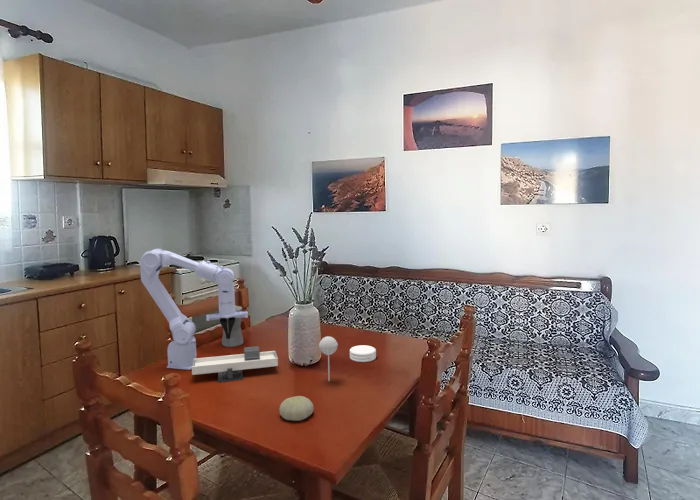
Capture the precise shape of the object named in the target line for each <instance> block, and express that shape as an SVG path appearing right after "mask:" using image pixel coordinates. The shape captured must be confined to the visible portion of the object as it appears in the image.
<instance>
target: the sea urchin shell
mask: <svg viewBox="0 0 700 500" xmlns="http://www.w3.org/2000/svg"><path fill="white" fill-rule="evenodd" d="M313 412H314V404H313V402H312V401H311V400H310V399H309V398H307V397H306V396H302V395H296V396H295V395H294V396H291V397H287V398H285V399H284V400H283V401H282V402H281V403H280V405H279V414H280V416H281V418H282V419H284V420H287V421H293V422H298V421H303V420H306V419H307V418H308V417H310V416H311V415H312V414H313Z"/></svg>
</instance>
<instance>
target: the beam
mask: <svg viewBox="0 0 700 500" xmlns="http://www.w3.org/2000/svg"><path fill="white" fill-rule="evenodd" d="M278 366H279V358H278V355H277V351H276V350H270V351H260V360H250V361H245V359H244V353H240V354H237V353H236V354H230V355H219V356H209V357H208V356H206V357H197V358H196V359H193V363H192V369H191V375H192V376H193V375H194V376H195V375H204V374H205V375H206V374H212V373H213V374H216V373H218V372H225V371H227V369H229V368H232V371H234V370H242V371H243V370H244V371H245V370H252V369H262V368H270V367H278Z"/></svg>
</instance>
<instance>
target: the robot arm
mask: <svg viewBox="0 0 700 500" xmlns="http://www.w3.org/2000/svg"><path fill="white" fill-rule="evenodd" d="M138 264H139V266H140V269H139V270H140V281H141V283H142V284H143V286H144V287H145V289H146V290H147V292H148V293H149V295H150V296H151V297H152V299H153V300H154V301H153V302H155V304H156V305H157V306H158V308H159V310H160V311H161V312H162V314H163V316H164V317H165V319H166V320H167V323H168V324H169V325H168V326H169V330H170V332H171V334H172V339H173V340H172V341H171V342H170V343H168V346H167V348H166V349H167V366H166V368H167V369H175V370H185V371H190V370H192V363H193V359H196V358H198V357H197V342H196V341H197V340H196V337H195V336H194V335H195V334H196V331H197V326H196V324H195V323H194V322H193V321H191V320H189V318H188V317H187V315H185V314H183V313H182V312H181V310H180V308H179V307H178V306H177V304H176V302H175V301H174V300H173V298H172V296H171V295H170V294H169V291H168V290H167V289H166V287H165V286H164V284H163V283H162V282H161V280H160V278H159V275H160V272H161V269H162V268H163V267H165V266H170V265H173V266H176V267H179V268H183V269H187V270H190V271H194V272H195V274H196V276H197V277H200V278H203V279H206V280H207V281H211V282H216V283H217V286H218V287H217V288H218V289H217V294H218V312H217V313H216V312H215V313H210V314H206V322H210V321H215V320H217V321H218V320H219V324H220V326H221V327H222V330H223V329H224V331H225V334H226V339H230V336H231V331H232V328H233V325H234V323H235V318H243V319H246V318H247V319H248V318H249V313H248V311H247V310H246V311H242V312H235V306H236V298H235V297H236V296H235V284H234V280H235V272H234V271H233V270H232V269H231V268H230V267H224V266H223V265H220V266H219V265H216V264H214V263H211V261H210V260H206V261H205V260H202V261H200V262H197V261H195V260H192V259H190V258H187V257H185V256H182V255H179V254H178V253H175V252H172V251H169V250H165V249H164V250H163V249H162V248H159V247H158V248H154V249H152V250H148V251H146V252H144V253H143V254H142V256H141V258H140V260H139V263H138ZM227 319H228V329H227Z"/></svg>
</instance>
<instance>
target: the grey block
mask: <svg viewBox="0 0 700 500" xmlns="http://www.w3.org/2000/svg"><path fill="white" fill-rule="evenodd" d="M243 352H244V353H243V354H244V359H245V361H250V360H260V352H261V351H260V347H259V345H258V346H257V345H256V346H255V345H254V346H246V347H244V348H243Z"/></svg>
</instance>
